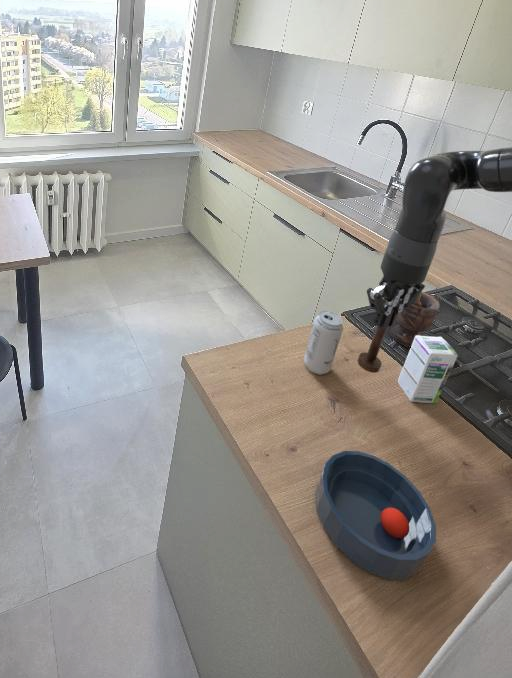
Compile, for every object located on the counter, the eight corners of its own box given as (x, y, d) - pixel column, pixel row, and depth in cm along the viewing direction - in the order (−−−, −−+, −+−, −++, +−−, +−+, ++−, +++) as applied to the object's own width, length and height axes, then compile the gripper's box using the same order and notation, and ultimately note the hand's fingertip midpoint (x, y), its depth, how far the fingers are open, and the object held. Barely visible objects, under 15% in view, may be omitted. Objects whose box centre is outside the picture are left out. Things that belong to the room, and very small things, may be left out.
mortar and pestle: (420, 362, 104) (448, 298, 96) (381, 346, 109) (405, 283, 101) (424, 337, 113) (450, 275, 105) (388, 322, 117) (410, 263, 109)
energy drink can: (327, 380, 98) (343, 331, 92) (300, 369, 101) (314, 320, 95) (331, 364, 103) (346, 315, 96) (305, 353, 105) (319, 306, 99)
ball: (389, 513, 72) (396, 498, 70) (410, 538, 68) (418, 524, 67) (372, 521, 70) (378, 506, 69) (392, 547, 67) (400, 533, 65)
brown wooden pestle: (367, 355, 94) (388, 297, 88) (384, 370, 91) (407, 310, 84) (352, 359, 93) (372, 300, 86) (369, 374, 89) (391, 314, 83)
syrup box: (410, 402, 93) (432, 353, 87) (395, 381, 99) (415, 333, 93) (436, 404, 93) (459, 355, 87) (420, 382, 98) (441, 335, 93)
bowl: (364, 460, 80) (372, 440, 78) (447, 558, 66) (461, 536, 64) (294, 487, 75) (301, 466, 73) (369, 600, 61) (381, 578, 59)
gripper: (399, 270, 75) (373, 344, 82) (453, 259, 79) (423, 330, 86) (365, 249, 81) (343, 319, 88) (416, 239, 86) (392, 307, 93)
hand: (383, 324), depth 87 cm, fingers closed on brown wooden pestle, 2 cm apart
